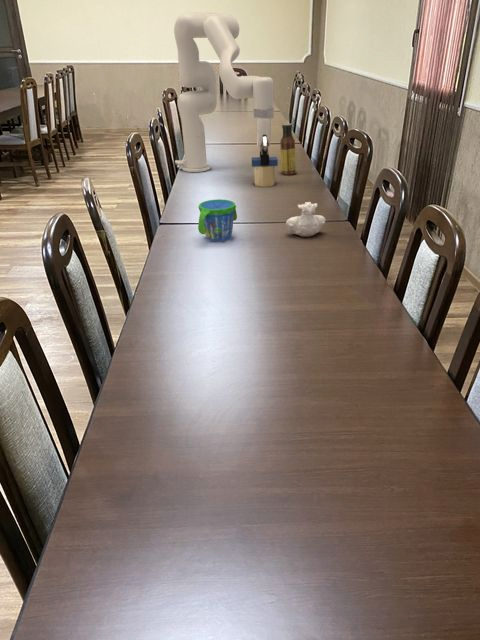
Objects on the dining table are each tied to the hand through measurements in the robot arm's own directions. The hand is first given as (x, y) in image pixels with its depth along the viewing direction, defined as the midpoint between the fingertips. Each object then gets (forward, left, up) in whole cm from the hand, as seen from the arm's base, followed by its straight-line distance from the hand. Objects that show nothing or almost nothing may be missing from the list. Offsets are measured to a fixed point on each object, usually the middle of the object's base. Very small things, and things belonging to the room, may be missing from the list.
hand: (264, 163), depth 211 cm
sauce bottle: (+11, +17, -8) cm, 22 cm away
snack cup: (-17, -64, -8) cm, 67 cm away
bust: (+9, -64, -8) cm, 65 cm away
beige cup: (0, 0, -8) cm, 8 cm away
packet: (0, 0, -1) cm, 1 cm away
